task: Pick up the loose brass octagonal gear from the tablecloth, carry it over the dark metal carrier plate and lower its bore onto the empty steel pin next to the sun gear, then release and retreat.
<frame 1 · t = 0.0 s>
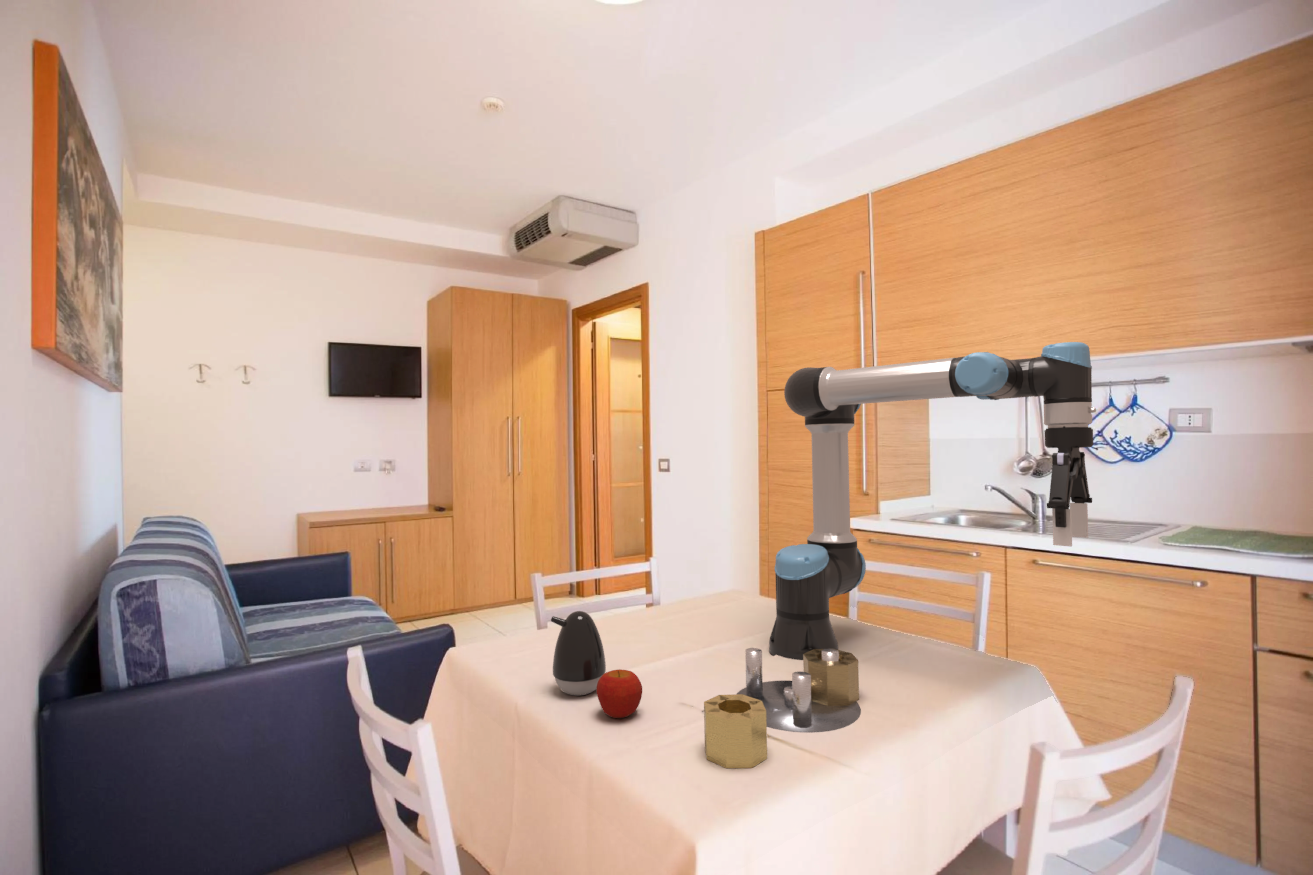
hand: (1071, 541, 114), 28 cm above the table, fingers open, 13 cm apart
pump dispenser: (579, 691, 119), on the table
carrier: (795, 708, 109), on the table
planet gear: (735, 752, 94), on the table
apple: (619, 716, 108), on the table
seated gear: (831, 695, 113), resting on carrier
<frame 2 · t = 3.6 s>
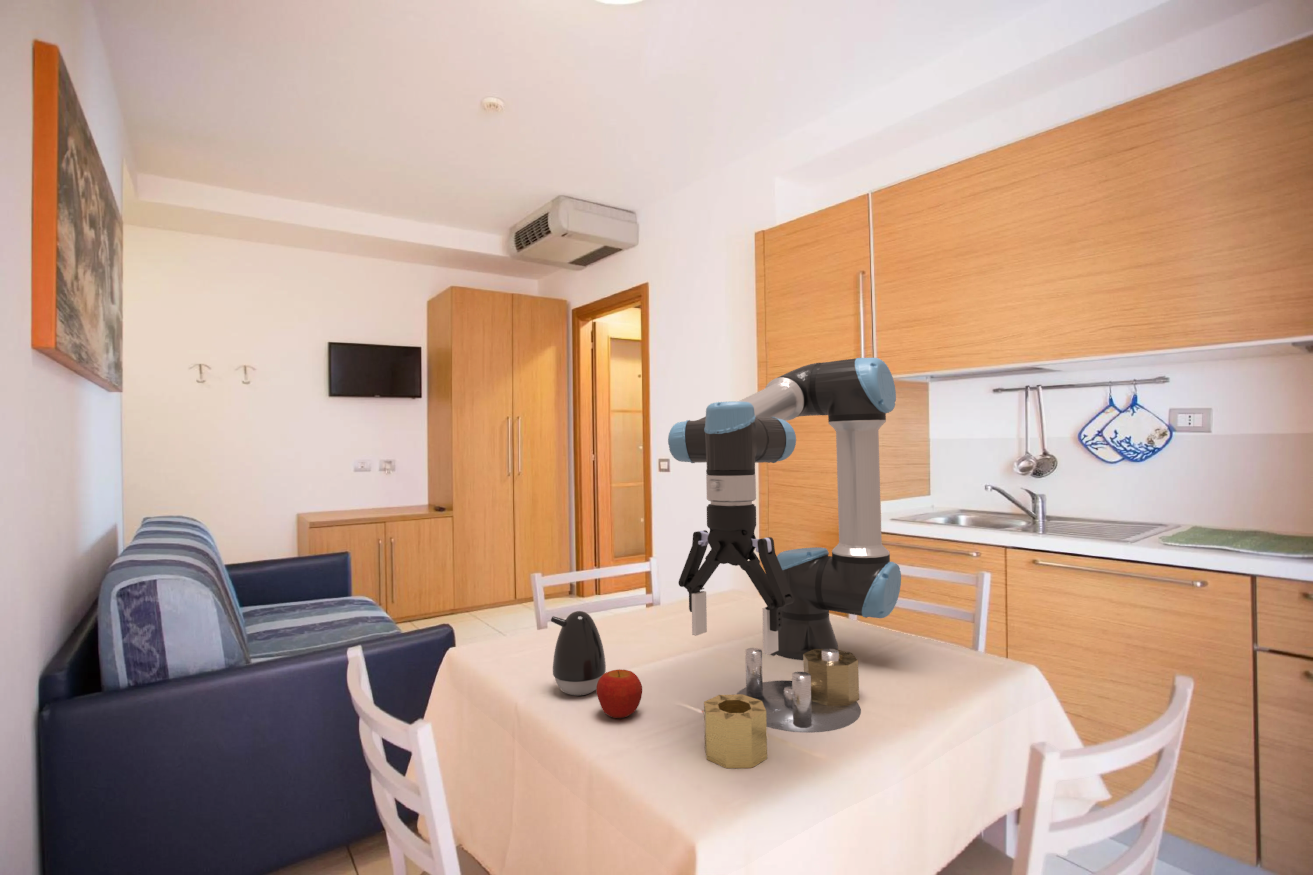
hand: (733, 642, 94), 17 cm above the table, fingers open, 13 cm apart
nothing on the table moved.
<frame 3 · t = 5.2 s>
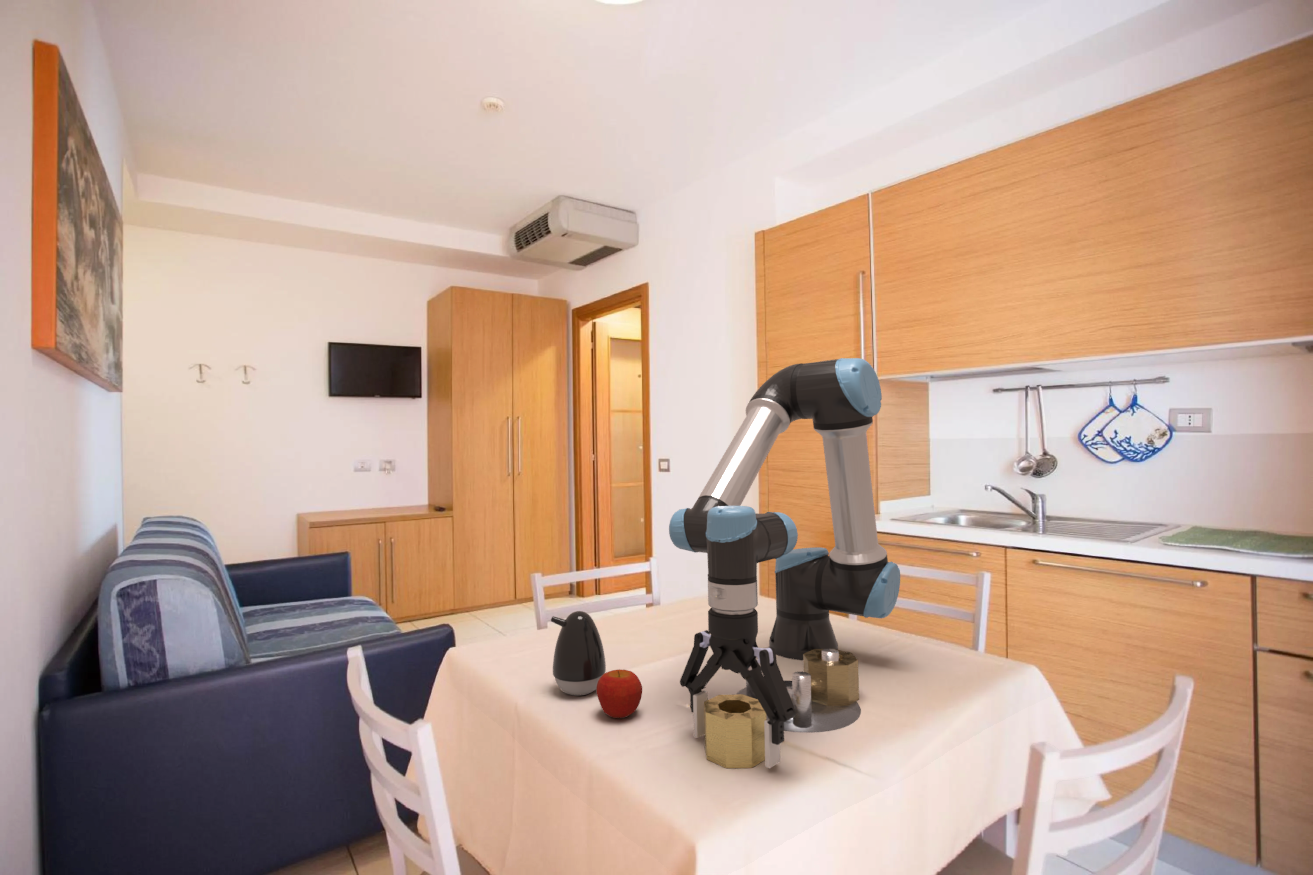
hand: (735, 748, 94), 1 cm above the table, fingers open, 13 cm apart
nothing on the table moved.
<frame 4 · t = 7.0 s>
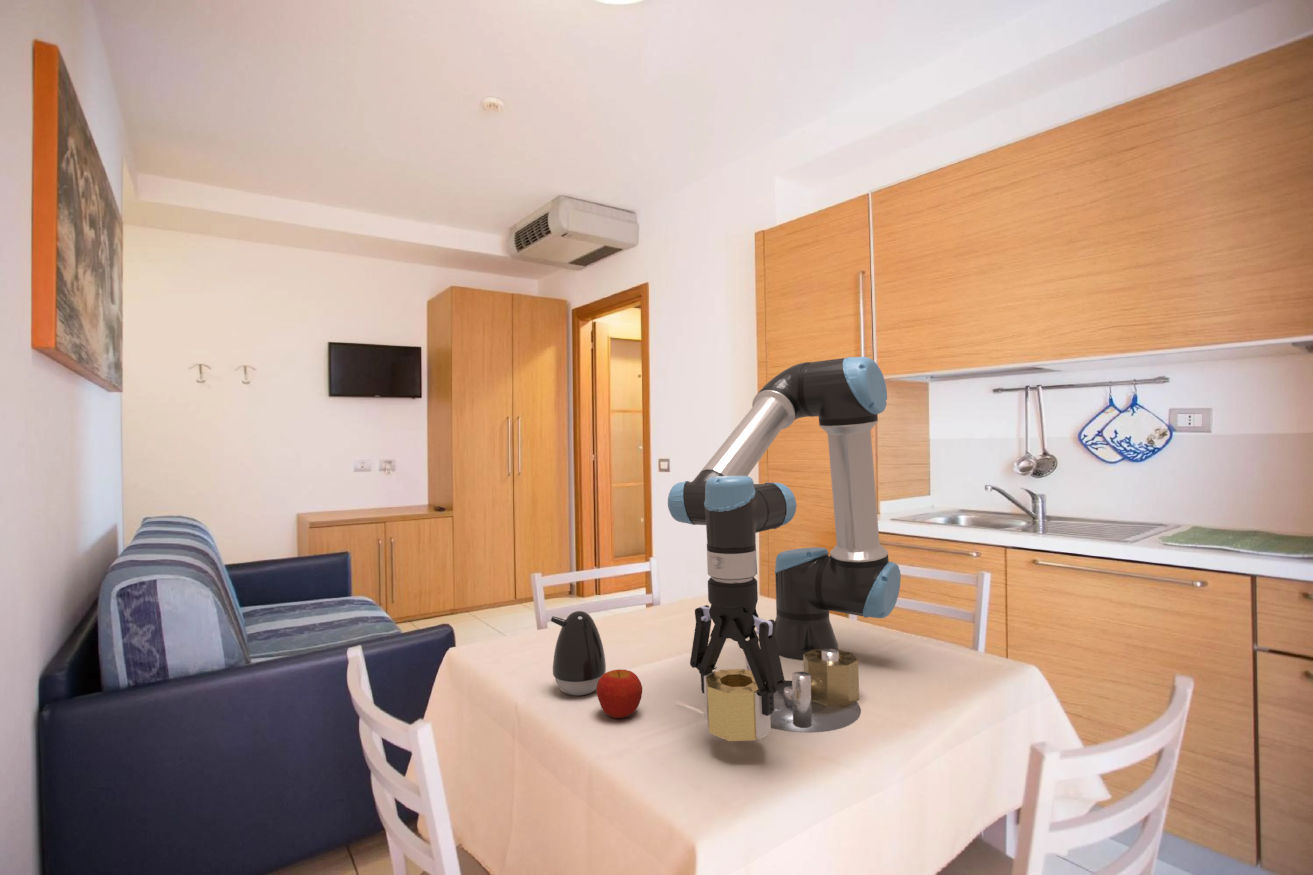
hand: (736, 724, 94), 4 cm above the table, fingers closed on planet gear, 9 cm apart
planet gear: (737, 725, 95), point 4 cm above the table, touching gripper
everything else where it was.
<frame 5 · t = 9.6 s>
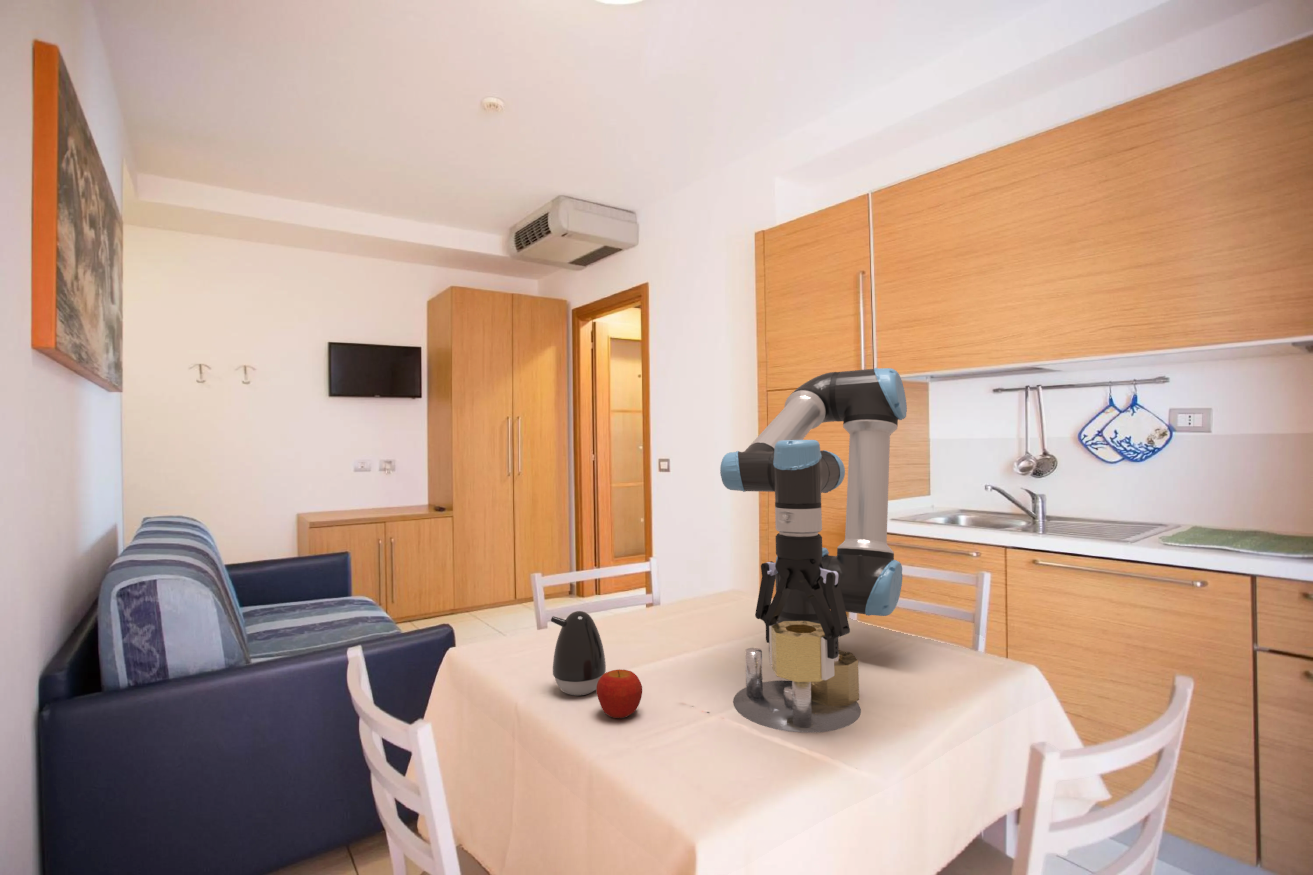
hand: (801, 669, 102), 10 cm above the table, fingers closed on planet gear, 9 cm apart
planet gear: (801, 671, 102), point 9 cm above the table, touching gripper
everything else where it was.
when the fingers open (3 cm above the table, at t = 12.3 s): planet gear drops 2 cm, resting on carrier.
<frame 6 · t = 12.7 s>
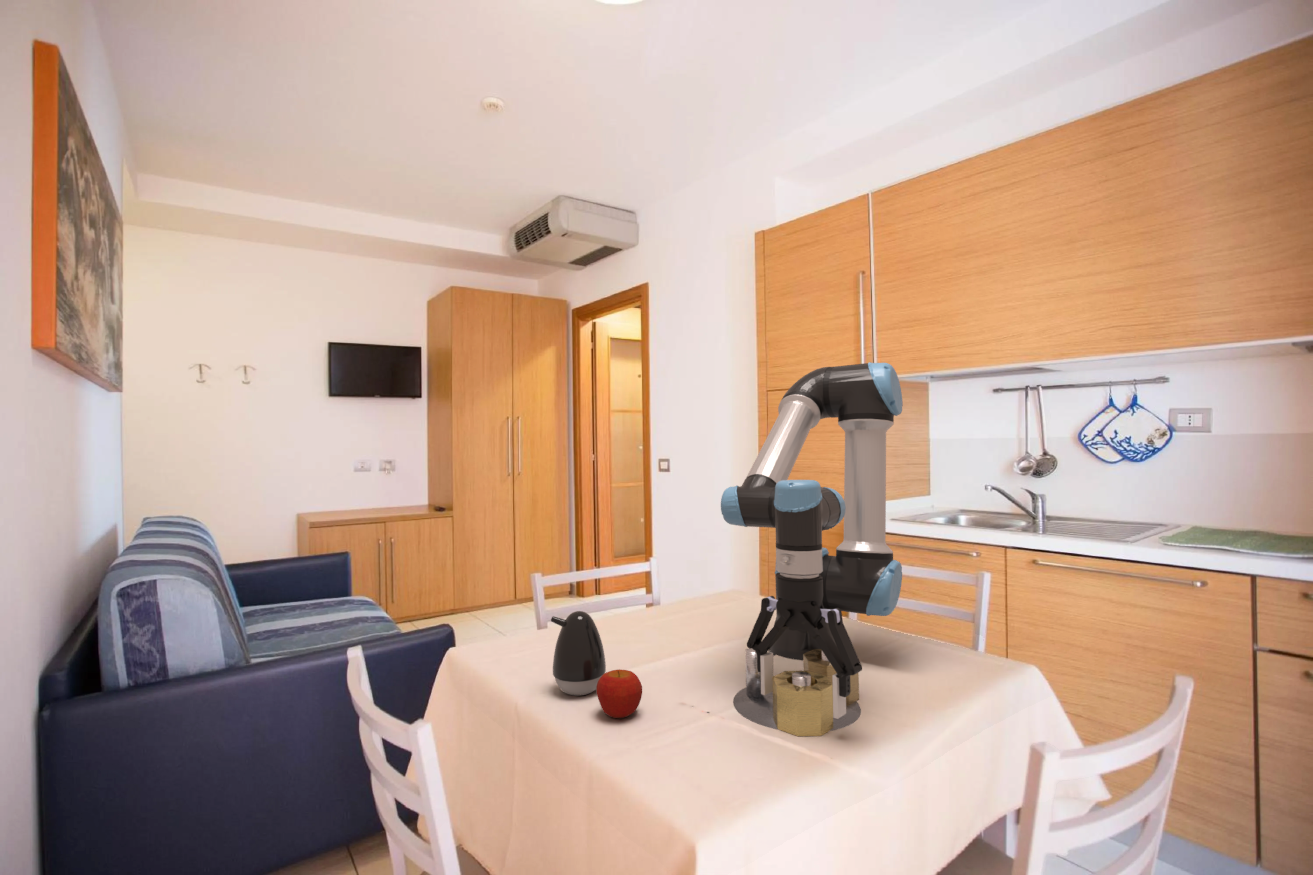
hand: (801, 703, 102), 4 cm above the table, fingers open, 13 cm apart
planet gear: (802, 723, 102), point 1 cm above the table, touching carrier
everything else where it was.
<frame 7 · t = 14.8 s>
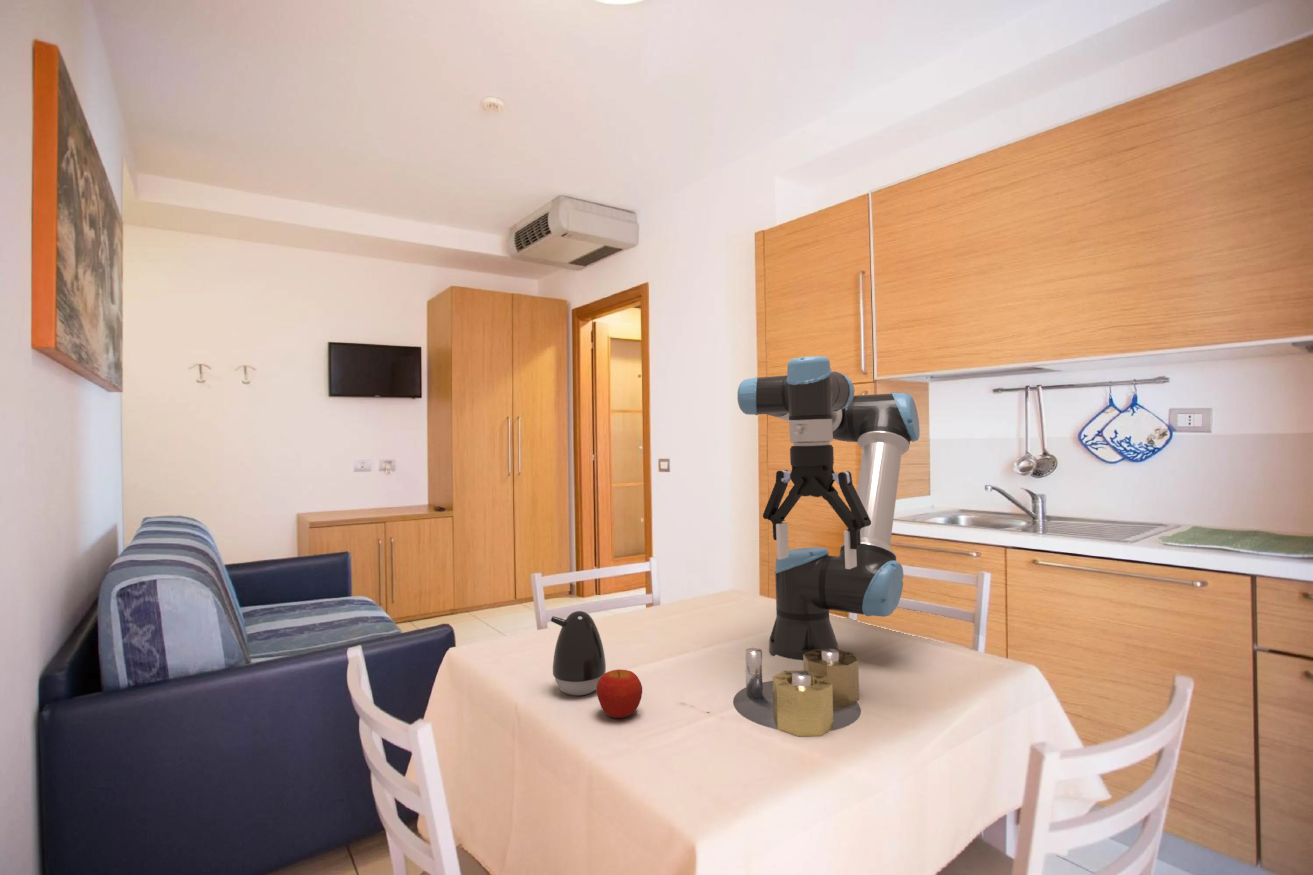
hand: (815, 562, 111), 26 cm above the table, fingers open, 13 cm apart
nothing on the table moved.
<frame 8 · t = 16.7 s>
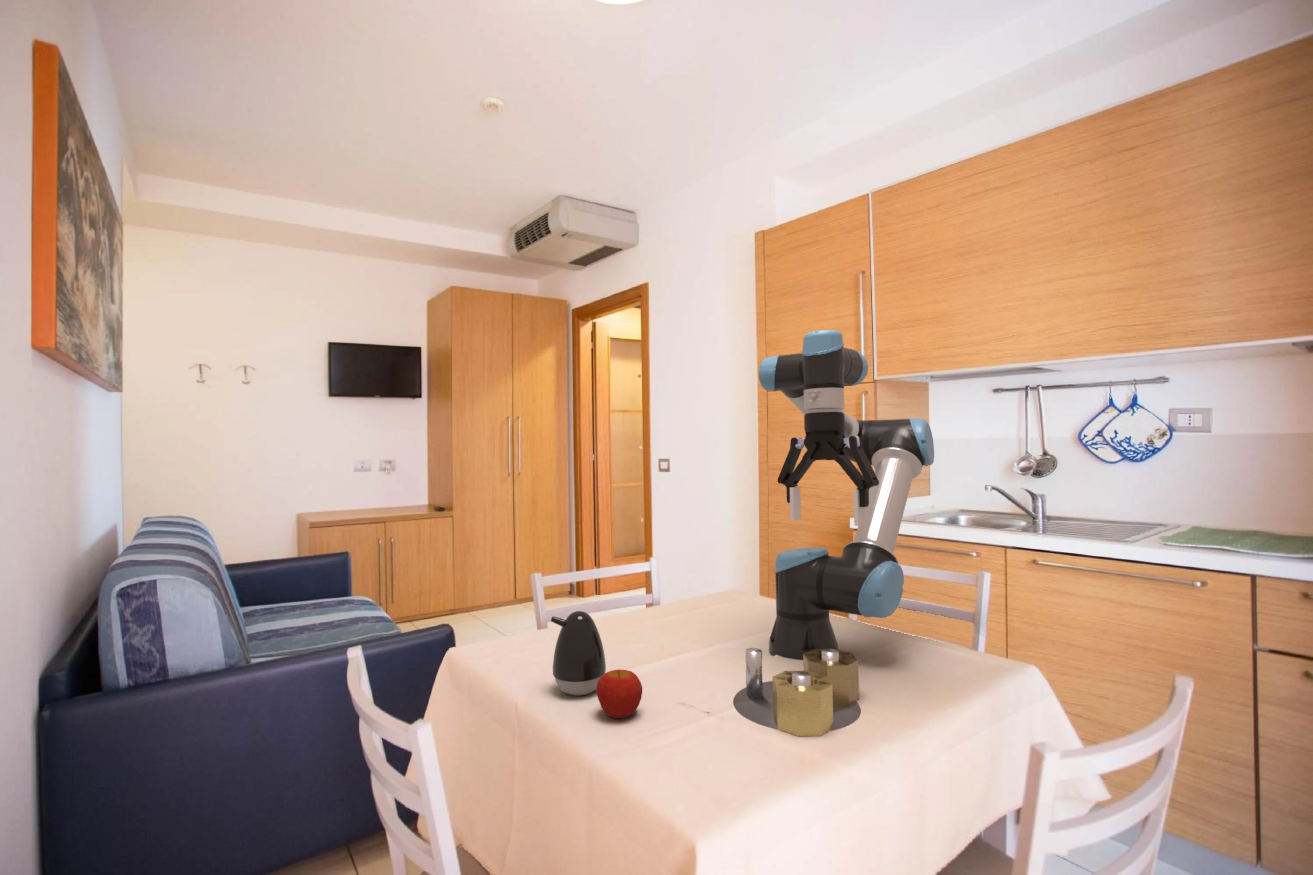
hand: (826, 522, 119), 32 cm above the table, fingers open, 13 cm apart
nothing on the table moved.
at the end: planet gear 0.3 cm from the target spot on the carrier, point 0.8 cm above the carrier's base; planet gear tilted 0°; the gripper is holding nothing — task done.
